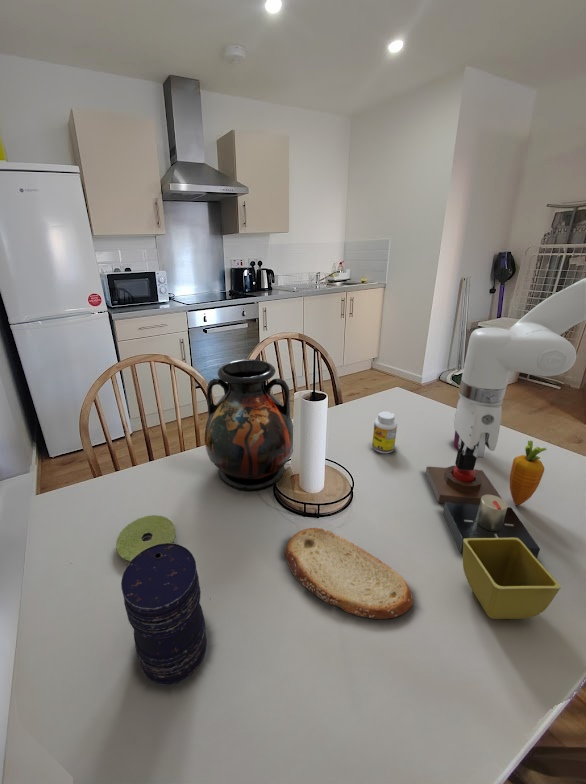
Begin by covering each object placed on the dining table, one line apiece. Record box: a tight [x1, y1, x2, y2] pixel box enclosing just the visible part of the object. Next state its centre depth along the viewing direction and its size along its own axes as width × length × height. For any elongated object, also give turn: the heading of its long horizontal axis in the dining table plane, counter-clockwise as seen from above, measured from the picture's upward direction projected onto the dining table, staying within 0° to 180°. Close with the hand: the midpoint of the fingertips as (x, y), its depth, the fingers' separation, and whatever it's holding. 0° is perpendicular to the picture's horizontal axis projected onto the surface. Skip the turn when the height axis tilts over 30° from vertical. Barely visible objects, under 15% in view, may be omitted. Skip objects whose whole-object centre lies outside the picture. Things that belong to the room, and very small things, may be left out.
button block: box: [424, 465, 503, 505], centre depth 79 cm, size 12×10×4 cm
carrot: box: [509, 440, 547, 506], centre depth 72 cm, size 5×5×15 cm
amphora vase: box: [204, 358, 294, 493], centre depth 84 cm, size 22×22×28 cm
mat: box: [115, 514, 177, 562], centre depth 69 cm, size 11×11×2 cm
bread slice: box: [284, 527, 414, 620], centre depth 61 cm, size 18×18×4 cm
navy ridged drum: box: [120, 542, 207, 686], centre depth 49 cm, size 10×10×15 cm
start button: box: [453, 465, 475, 482], centre depth 78 cm, size 4×4×2 cm
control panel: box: [442, 502, 541, 560], centre depth 67 cm, size 12×10×3 cm
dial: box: [476, 495, 509, 531], centre depth 65 cm, size 4×4×5 cm
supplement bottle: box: [371, 411, 398, 454], centre depth 94 cm, size 6×6×10 cm
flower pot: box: [462, 538, 562, 620], centre depth 54 cm, size 9×9×9 cm
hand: (464, 467), depth 77 cm, fingers closed
